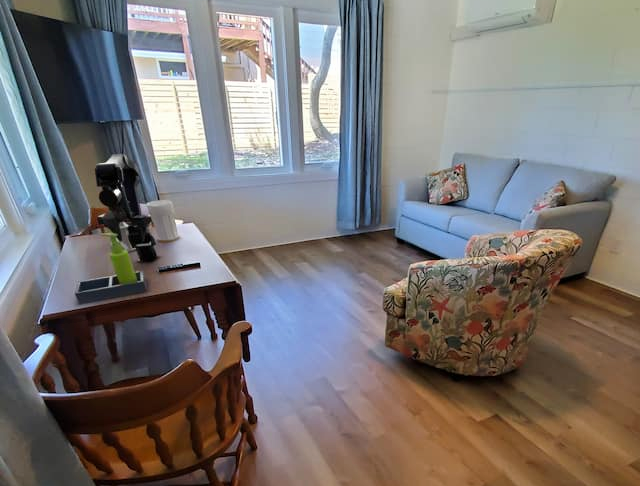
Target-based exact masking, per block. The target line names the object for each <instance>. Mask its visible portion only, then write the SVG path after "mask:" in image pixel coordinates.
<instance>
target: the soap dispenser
mask: <svg viewBox="0 0 640 486" xmlns="http://www.w3.org/2000/svg"><path fill="white" fill-rule="evenodd" d="M100 236H101V237H108V238H110V243H109V247H110V249H111V252H110V253H109V254H108V256H109V258H110V261H111V264H112V266H113V268H114V272H115V275H117V277H118V280H119V283H120V285H121V284H127V283H132V282H138V280H137V277H136V275H135V272H136V271H135V269H134V266H133V263H132V260H131V257H130V254H129V252H128V251H126V250H124V249H123V248H122V246H121V243H120V242H117V239H116V236H118V235H117V234H115V233H112V232H106V233H103V234H101V235H100Z"/></svg>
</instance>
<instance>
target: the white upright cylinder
mask: <svg viewBox="0 0 640 486" xmlns="http://www.w3.org/2000/svg"><path fill="white" fill-rule="evenodd" d="M145 206H146V209H147V212H148V215H150V216H151V219H152V224H153V226H154V230H155V232H156V236H157V239H158V241H159V242H161V243H169V242H175V241H177V240H178V239H179V238H180V237H179V233H178V228H177V224H176V219H175V215H174V213H175V210H174V205H173V202H172V200H168V199H167V200H166V199H161V200H153V201H149V202H146V204H145Z"/></svg>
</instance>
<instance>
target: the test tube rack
mask: <svg viewBox="0 0 640 486" xmlns="http://www.w3.org/2000/svg"><path fill="white" fill-rule="evenodd" d="M119 226H120V230H121V235H122V241H121V242H120V241H119V240H118V239H117V238H116V239H117V242H120V243H121V246H122V248H123V250H126V251H128V253H130V252H134V251H137V250H136V248H132V246H131V244H130V242H129V240H128V231H127V229H128V226H129V225H128V224H127V222H120V224H119Z"/></svg>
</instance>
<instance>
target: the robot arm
mask: <svg viewBox="0 0 640 486" xmlns="http://www.w3.org/2000/svg"><path fill="white" fill-rule="evenodd" d="M94 175H95V181H96V182H95V183H96V186H97V188H99V187H101V189H102V190H100V192H99V194H98V200H99V202H100V203H101V204H102V205H103V206H105V207H107V209H108V211H106V212H105V213H103V214H101V215H98V216H97V219H96V221H97V224H98V225H101V226H102V227H104V228H107V229H109V231H110V232H111V233H115V234H117V235H118V236H116V238H117V239H118V240H119V241H120V242H121V241H122V235H121V230H120V226H119V224H120V222H125V223H129V225H128V228H127V235H128V240H129V242H130V244H131V246H132V248H136V250H135V251H136V253H137V256H138V259H137V260H136V261H137V263H138V262H139V263H152V262H153V261H156V260H157V259H158V258H160V256H159V255H158V254H157V251H156V248H155V246H156V245H157V241H156V239H155V237H154V236H153V234H152V233H151V232H150V228H148V225H150V223H153V221H152V218H151V215H150V214H149V213H147V214H146V213H145V214H143V213H142V208H141V202H140V199H139V193H138V186H139V184H140V176H141V172H140V168H139V167H138V165H137V163H136V161H133V160H132V159H129V158H128V157H127V155H126V154H123V153H120V154H112V155H110V158H109V159H108V160H107V161H106V162H102V163H100V162H99V163H96V165H95V167H94Z"/></svg>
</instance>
